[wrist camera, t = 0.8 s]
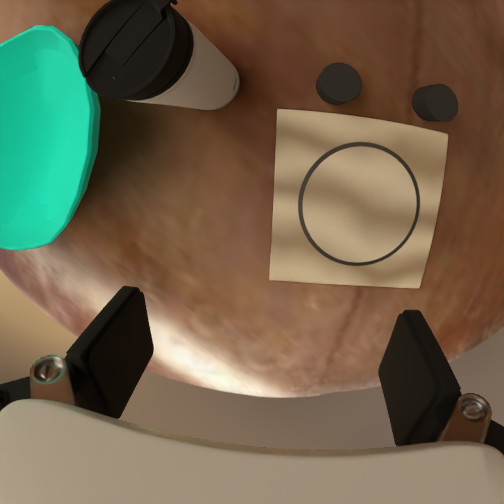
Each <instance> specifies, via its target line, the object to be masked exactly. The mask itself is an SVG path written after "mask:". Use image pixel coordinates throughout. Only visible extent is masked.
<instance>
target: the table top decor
mask: <svg viewBox="0 0 504 504" xmlns="http://www.w3.org/2000/svg"><path fill="white" fill-rule="evenodd" d="M78 52H79V47H78V46H77V45H76V44H75V43H74V42H73V41H72V40H71V39H70V38H69V37H67V36H66V35H65V34H64V33H62V32H61V31H60V30H58V29H57V28H56V27H54V26H41V25H36V26H34V27H32V28H30V29H28V30H26V31H24V32H22V33H20V34H18V35H16V36H14V37H13V38H11V39H9V40H7V41H5V42H4V43H2V44H0V248H3V249H9V250H15V251H17V250H25V249H33V248H39V247H41V246H44V245H47V244H50V243H52V242H53V241H54V240H55V238H56V237H57V236H58V235H59V234H60V233H61V232H62V231H63V229H64V228H65V227H66V226H67V225H68V223H69V222H70V221H71V219H72V218H73V216H74V214H75V212H76V210H77V208H78V205H79V203H80V201H81V199H82V197H83V195H84V193H85V191H86V189H87V186H88V182H89V179H90V175H91V171H92V168H93V165H94V161H95V158H96V155H97V152H98V138H99V125H100V114H101V108H100V104H99V99H98V94H97V93H96V92H94V91H93V90H92V89H91V88H90V87H89V85H88V84H87V82H86V78H83V76H82V73H81V71H80V68H79V63H78Z"/></svg>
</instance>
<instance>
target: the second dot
mask: <svg viewBox="0 0 504 504" xmlns="http://www.w3.org/2000/svg"><path fill="white" fill-rule="evenodd" d="M412 104H413V108H414V110H415V112H416V113H417V115H418V116H419V117H421V118H422V119H424V120H427V121H443V122H447V121H450V120H452V119H453V118H454V117H455V116H456V114H457V111H458V102H457V98H456V96H455V94H454V93H453V91H452V90H451V89H450V88H448V87H447V86H445V85H442V84H436V85H431V86H426V87H421V88H419V89H417V90H416V91H415V93H414V95H413V98H412Z"/></svg>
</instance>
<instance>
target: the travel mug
mask: <svg viewBox="0 0 504 504" xmlns="http://www.w3.org/2000/svg"><path fill="white" fill-rule="evenodd" d="M171 2H172V3H173V4H174V5H176V4H177V3H178V2H177V1H176V0H110V1H109V2H107V3H106V4H105V5H104V6H102V7H101V8H100V9H99V10H98V11H97V12H96V13H95V15H94V16H93V17H92V18H91V20H90V21H89V23H88V25H87V26H86V28H85V30H84V33H83V35H82V38H81V41H80V45H79V52H78V63H79V68H80V71H81V73H82V76H83V78H86V82H87V84H88V85H89V87H90V88H91V89H92V90H93V91H94V92H96V93H97V94H98V95H102V96H105V97H107V98H110V99H113V100H126V101H132V102H142V103H153V104H162V105H171V106H179V107H187V108H194V109H201V110H217V109H220V108H223V107H224V106H226V105H228V104H229V103H230V102H231V101H232V100H233V99H234V98H235V96H236V94H237V93H238V90H239V86H240V78H239V74H238V71H237V70H236V68H235V67H234V65H233V64H232V63H231V62H230V61H229V60H228V59H227V58H226V57H225V56H224V55H223V54H222V53H221V52H220V51H219V50H218V49H217V48H216V47H215V46H214V45H213V44H212V43H211V42H210V41H209V40H208V39H207V38H206V37H205V36H204V35H203V34H202V33H201V32H200V31H199V30H198V29H197V28H196V27H195V26H194V25H193V24H192V23H191V22H190V21H188V20H187V19H186V18H185V17H184V16H183V15H182V14H181V13H179V12H177V11H176V10H175V9H174V8H173V7H171V6H170V3H171Z"/></svg>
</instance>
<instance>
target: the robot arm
mask: <svg viewBox="0 0 504 504" xmlns="http://www.w3.org/2000/svg"><path fill="white" fill-rule="evenodd" d="M153 350H154V347H153V342H152V337H151V331H150V326H149V321H148V315H147V310H146V304H145V298H144V294H143V292H140V290H139V288H137V287H130V286H123V287H122V288H121V289H120V290H119V291H118V292H117V293H116V295H115V296H114V297H113V298H112V299H111V300H110V301H109V302H108V304H107V305H106V306H105V307H104V308H103V309H102V310H101V312H100V313H99V314H98V315H97V316H96V317H95V319H94V320H93V321H92V322H91V323H90V325H89V326H88V327H87V328H86V329H85V330H84V332H83V333H82V334H81V335H80V336H79V338H78V339H77V340H76V341H75V343H74V344H73V345H72V346H71V347H70V349H69V350H68V351H67V356H66V357H65V358H64V359H63V358H62V357H60V356H57V355H47V356H44V357H41V358H40V359H38V360H37V361H36V362H35V363H34V364H33V365H32V367H31V369H30V376H29V377H25V378H22V379H18V380H15V381H11V382H8V383H4V384H0V504H504V427H503V426H502V425H500V424H498V423H496V422H495V421H493V420H491V414H492V411H491V407H490V405H489V403H488V402H487V401H486V400H485V399H484V398H483V397H481V396H480V395H478V394H474V393H467V394H464V395H462V394H461V392H460V389H461V388H460V386H459V384H458V382H457V380H456V378H455V376H454V374H453V371H452V369H451V367H450V365H449V363H448V361H447V359H446V357H445V355H444V354H443V352H442V350H441V348H440V346H439V344H438V342H437V340H436V338H435V337H434V335H433V333H432V331H431V329H430V327H429V326H428V324H427V322H426V320H425V319H424V317H423V315H422V313H421V312H420V311H419V310H404V312H403V313H402V314H399V315H398V318H397V321H396V324H395V327H394V329H393V332H392V335H391V338H390V341H389V343H388V346H387V349H386V351H385V354H384V356H383V359H382V361H381V364H380V366H379V378H380V382H381V386H382V390H383V394H384V398H385V402H386V406H387V410H388V414H389V418H390V423H391V427H392V432H393V436H394V441H395V444H396V447H385V448H371V449H353V450H297V449H277V448H265V447H254V446H245V445H237V444H229V443H222V442H215V441H209V440H203V439H197V438H192V437H187V436H182V435H177V434H172V433H168V432H164V431H160V430H155V429H151V428H147V427H144V426H140V425H136V424H132V423H129V422H125V421H122V420H118V418H120V416H121V415H122V412H123V411H124V409H125V406H126V405H127V402H128V401H129V399H130V397H131V395H132V393H133V391H134V389H135V387H136V385H137V383H138V382H139V380H140V378H141V376H142V374H143V372H144V370H145V368H146V366H147V364H148V363H149V361H150V359H151V357H152V355H153Z"/></svg>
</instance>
